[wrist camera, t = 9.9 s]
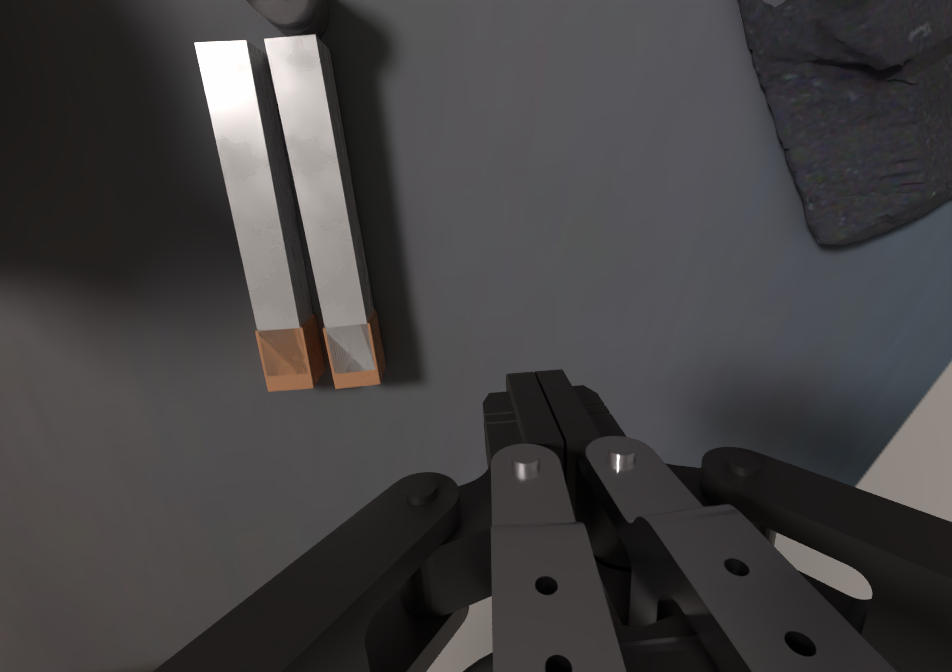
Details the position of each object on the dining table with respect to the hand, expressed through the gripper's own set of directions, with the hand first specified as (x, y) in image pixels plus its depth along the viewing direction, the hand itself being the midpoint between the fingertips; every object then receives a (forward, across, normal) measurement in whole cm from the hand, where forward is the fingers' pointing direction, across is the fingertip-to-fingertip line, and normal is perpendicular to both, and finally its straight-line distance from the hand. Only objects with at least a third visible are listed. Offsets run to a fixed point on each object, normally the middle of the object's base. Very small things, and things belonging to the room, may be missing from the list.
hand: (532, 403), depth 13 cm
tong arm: (+19, +9, -3) cm, 21 cm away
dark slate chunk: (+20, -24, -11) cm, 33 cm away
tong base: (+19, +11, -5) cm, 22 cm away
